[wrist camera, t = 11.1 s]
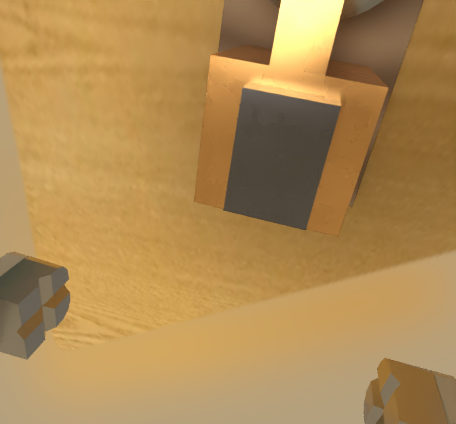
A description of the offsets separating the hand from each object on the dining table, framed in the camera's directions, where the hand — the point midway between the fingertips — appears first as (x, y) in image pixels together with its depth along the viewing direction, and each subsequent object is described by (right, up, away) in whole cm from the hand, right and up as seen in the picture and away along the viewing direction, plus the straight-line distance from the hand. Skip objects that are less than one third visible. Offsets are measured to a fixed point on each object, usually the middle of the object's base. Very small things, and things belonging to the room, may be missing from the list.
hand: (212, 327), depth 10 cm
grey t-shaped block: (+6, +11, +21) cm, 24 cm away
